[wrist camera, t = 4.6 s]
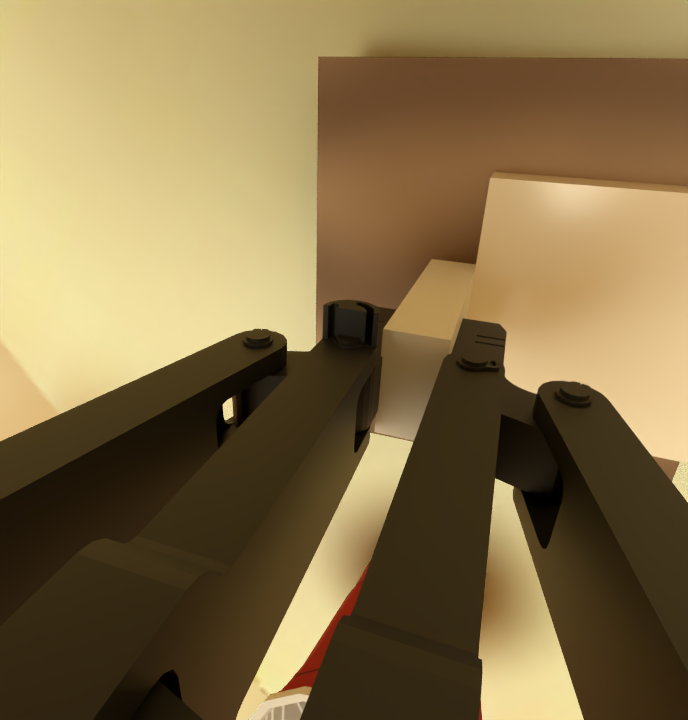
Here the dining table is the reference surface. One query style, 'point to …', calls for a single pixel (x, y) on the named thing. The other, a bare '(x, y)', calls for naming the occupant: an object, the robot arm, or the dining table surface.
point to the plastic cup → (307, 673)
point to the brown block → (472, 154)
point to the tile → (592, 293)
